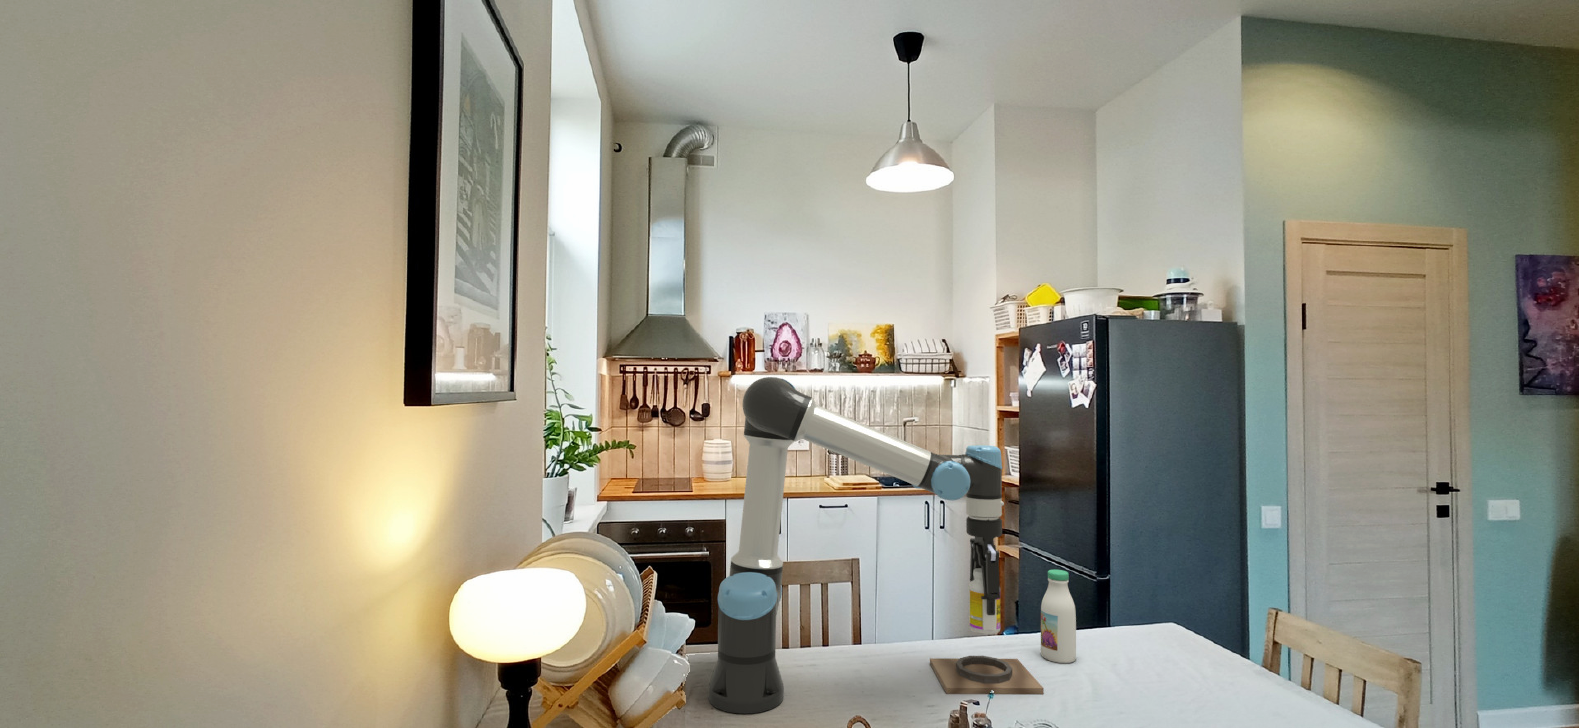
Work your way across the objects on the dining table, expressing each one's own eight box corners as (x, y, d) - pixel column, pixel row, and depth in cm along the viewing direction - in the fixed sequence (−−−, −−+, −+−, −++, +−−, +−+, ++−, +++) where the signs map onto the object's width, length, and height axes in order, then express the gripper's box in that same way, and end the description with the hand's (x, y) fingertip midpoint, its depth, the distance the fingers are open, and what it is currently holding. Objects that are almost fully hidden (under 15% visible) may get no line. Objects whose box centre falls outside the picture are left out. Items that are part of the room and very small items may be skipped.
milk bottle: (1070, 652, 171) (1070, 567, 171) (1080, 664, 163) (1080, 576, 164) (1037, 651, 171) (1037, 566, 172) (1045, 663, 164) (1045, 575, 164)
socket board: (946, 693, 147) (946, 680, 147) (929, 663, 163) (929, 651, 163) (1043, 694, 147) (1043, 680, 147) (1017, 664, 163) (1017, 652, 163)
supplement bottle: (1001, 636, 151) (1001, 575, 152) (969, 634, 153) (969, 573, 153) (999, 626, 158) (998, 567, 158) (968, 624, 159) (967, 566, 160)
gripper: (1016, 525, 146) (1016, 639, 145) (987, 509, 166) (988, 609, 165) (979, 525, 146) (980, 639, 145) (955, 509, 166) (955, 609, 165)
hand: (984, 623), depth 155 cm, fingers closed on supplement bottle, 7 cm apart
